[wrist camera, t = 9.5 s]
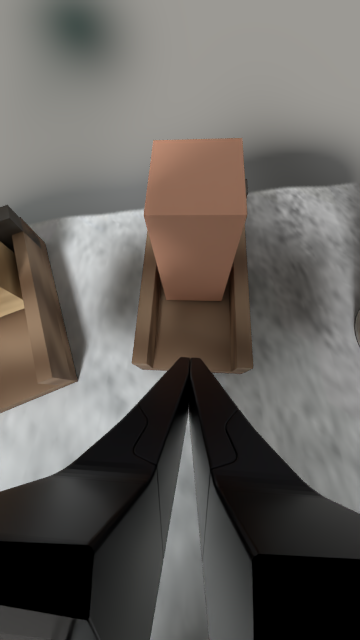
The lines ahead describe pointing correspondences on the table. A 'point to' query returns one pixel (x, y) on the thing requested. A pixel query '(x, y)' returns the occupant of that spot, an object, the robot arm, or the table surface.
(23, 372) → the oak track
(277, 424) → the table surface
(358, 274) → the table surface
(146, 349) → the dark wooden block holder
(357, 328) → the thermos bottle
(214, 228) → the terracotta slider
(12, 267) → the oak slider
